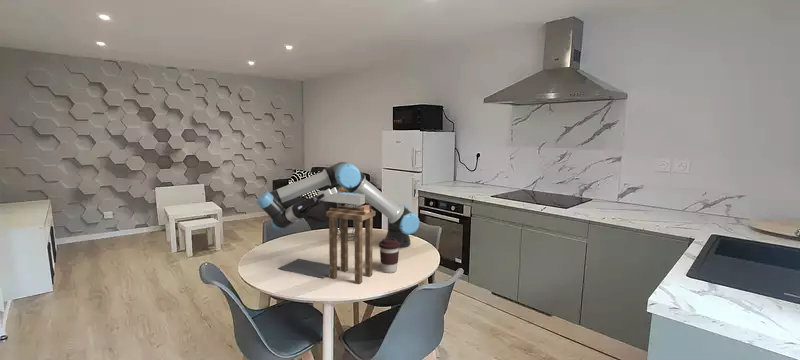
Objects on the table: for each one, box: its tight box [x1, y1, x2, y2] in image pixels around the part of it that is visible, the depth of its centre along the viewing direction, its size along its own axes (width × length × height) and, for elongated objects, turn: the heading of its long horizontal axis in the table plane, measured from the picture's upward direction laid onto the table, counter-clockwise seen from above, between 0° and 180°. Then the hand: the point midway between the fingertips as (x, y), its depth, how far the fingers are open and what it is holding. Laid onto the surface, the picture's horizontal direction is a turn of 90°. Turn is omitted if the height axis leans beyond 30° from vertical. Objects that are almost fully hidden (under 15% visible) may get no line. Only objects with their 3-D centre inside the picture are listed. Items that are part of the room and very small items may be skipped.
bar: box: [317, 190, 366, 206], centre depth 167 cm, size 22×4×4 cm, turn 66°
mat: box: [277, 258, 341, 279], centre depth 179 cm, size 26×15×1 cm, turn 66°
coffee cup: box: [378, 237, 400, 274], centre depth 177 cm, size 10×10×15 cm
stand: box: [325, 204, 377, 285], centre depth 167 cm, size 18×12×33 cm, turn 66°
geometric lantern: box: [335, 185, 358, 242], centre depth 226 cm, size 16×16×35 cm
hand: (333, 190), depth 168 cm, fingers closed on bar, 4 cm apart
